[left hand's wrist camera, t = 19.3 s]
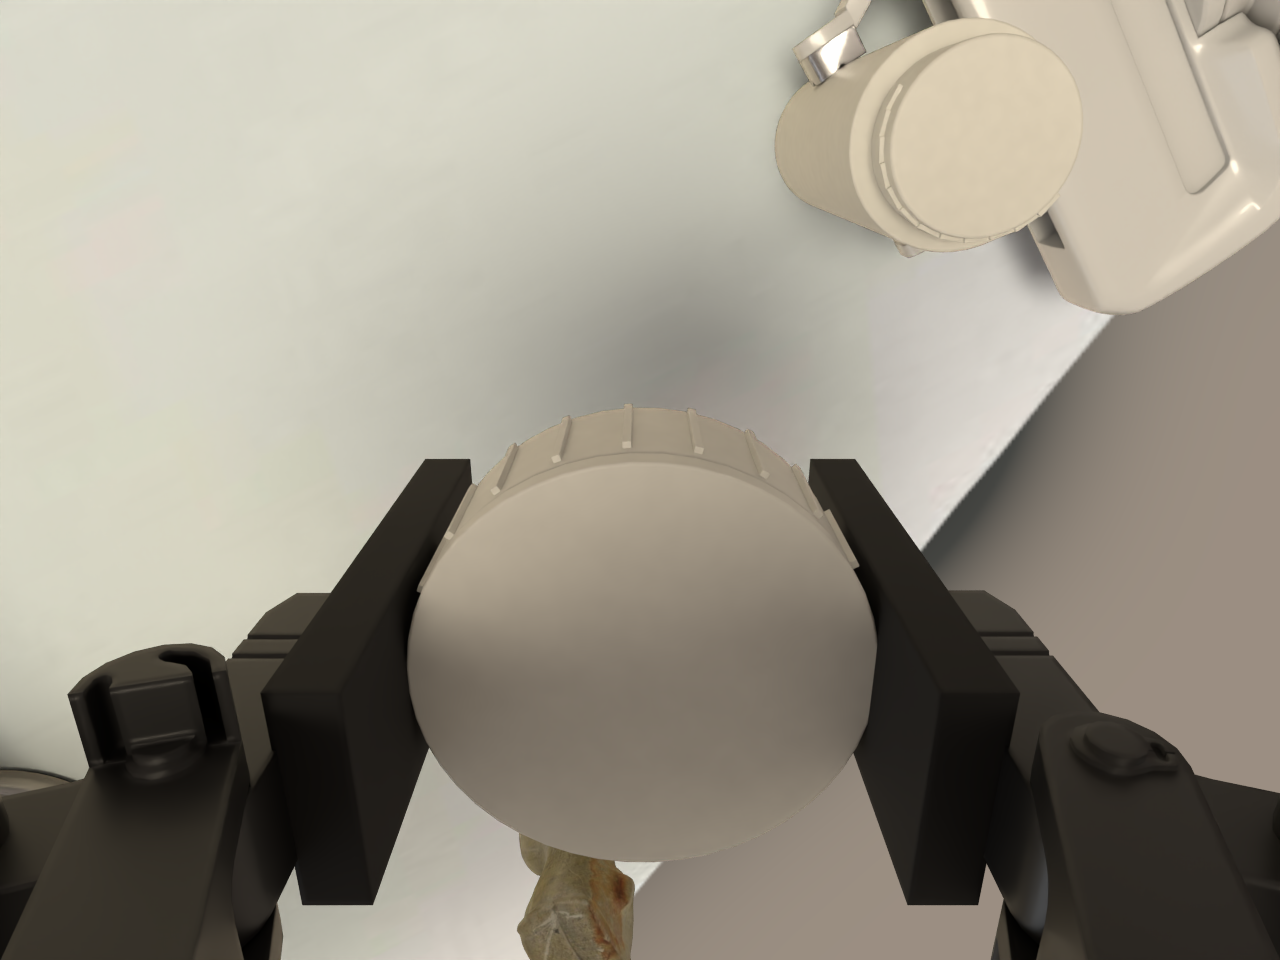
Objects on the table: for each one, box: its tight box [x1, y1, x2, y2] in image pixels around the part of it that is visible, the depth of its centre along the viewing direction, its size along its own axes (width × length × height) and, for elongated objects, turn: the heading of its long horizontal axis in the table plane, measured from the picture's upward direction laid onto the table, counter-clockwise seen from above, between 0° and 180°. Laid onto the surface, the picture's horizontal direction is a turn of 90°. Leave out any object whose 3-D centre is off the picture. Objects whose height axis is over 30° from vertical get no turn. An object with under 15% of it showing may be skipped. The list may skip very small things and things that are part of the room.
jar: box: [775, 17, 1083, 252], centre depth 27 cm, size 6×6×17 cm
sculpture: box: [517, 833, 635, 960], centre depth 39 cm, size 6×7×15 cm
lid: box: [407, 404, 877, 862], centre depth 11 cm, size 6×6×2 cm
